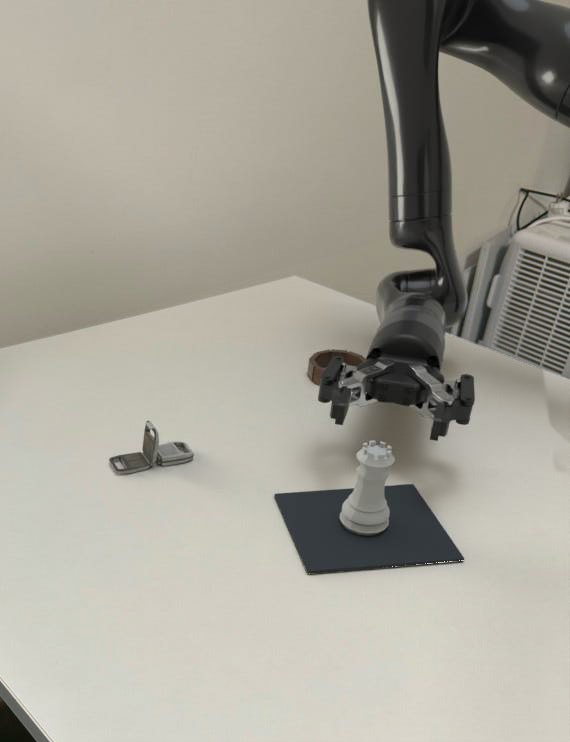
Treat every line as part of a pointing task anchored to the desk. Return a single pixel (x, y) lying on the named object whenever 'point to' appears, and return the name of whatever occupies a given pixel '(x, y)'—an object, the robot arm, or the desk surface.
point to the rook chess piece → (369, 491)
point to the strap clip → (153, 453)
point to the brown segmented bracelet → (324, 358)
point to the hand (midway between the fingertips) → (387, 423)
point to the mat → (356, 552)
